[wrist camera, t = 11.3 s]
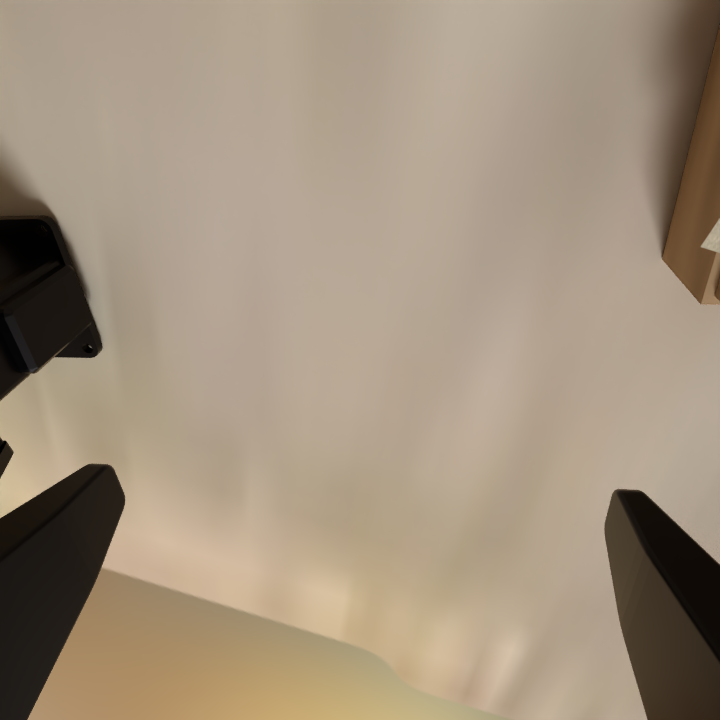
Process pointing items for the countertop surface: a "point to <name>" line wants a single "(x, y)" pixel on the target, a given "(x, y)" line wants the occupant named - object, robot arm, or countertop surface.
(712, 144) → the base block
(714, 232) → the condiment
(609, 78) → the countertop surface
